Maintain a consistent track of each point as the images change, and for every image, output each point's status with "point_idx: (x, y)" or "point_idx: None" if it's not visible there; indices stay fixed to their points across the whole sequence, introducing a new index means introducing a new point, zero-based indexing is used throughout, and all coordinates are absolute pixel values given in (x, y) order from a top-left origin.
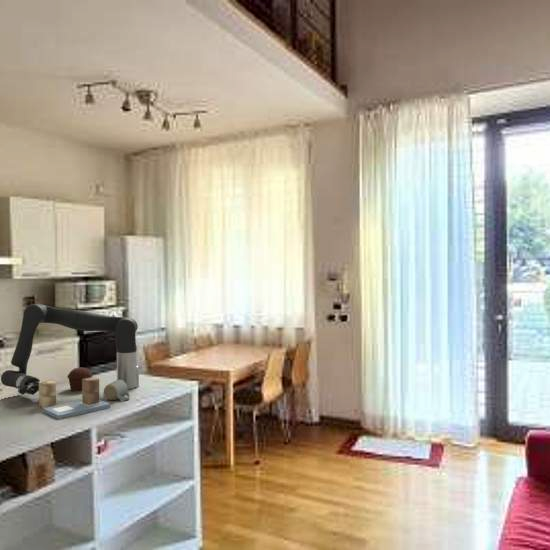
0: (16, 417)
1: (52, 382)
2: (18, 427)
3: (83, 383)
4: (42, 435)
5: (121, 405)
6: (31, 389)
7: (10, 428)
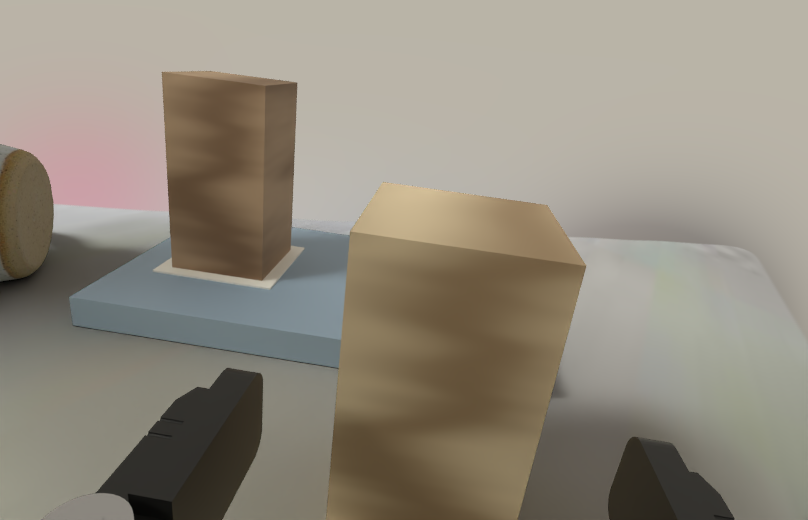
0: (772, 442)
1: (413, 194)
2: (726, 319)
3: (273, 119)
4: (623, 241)
5: (151, 223)
6: (690, 478)
7: (771, 331)
